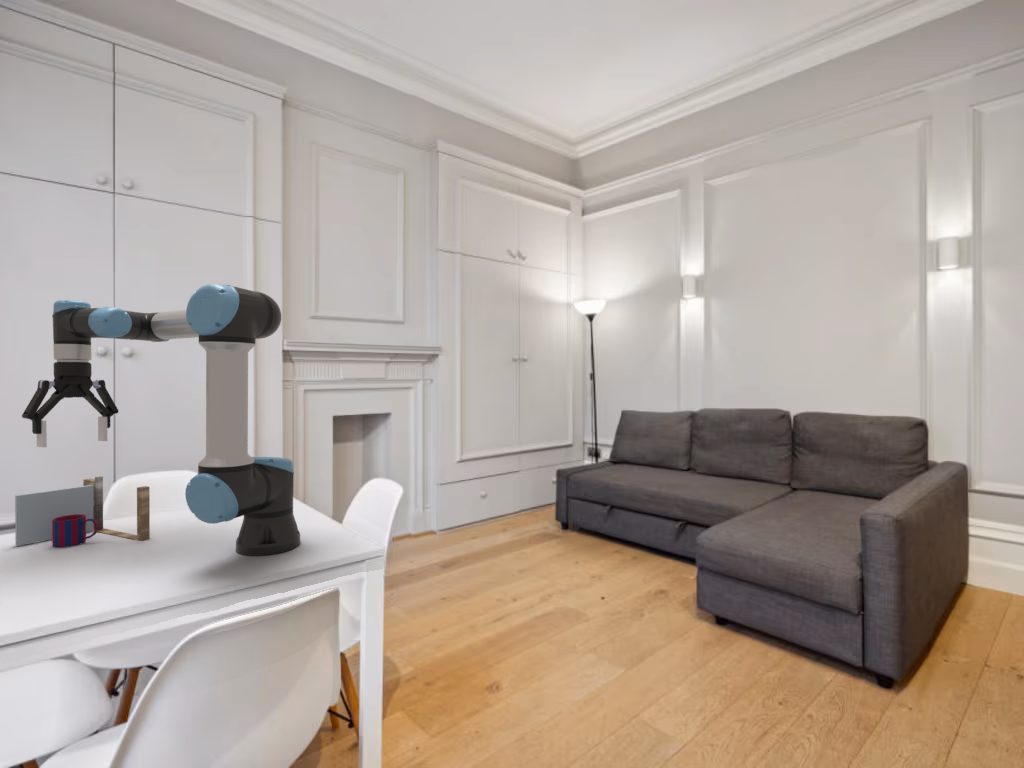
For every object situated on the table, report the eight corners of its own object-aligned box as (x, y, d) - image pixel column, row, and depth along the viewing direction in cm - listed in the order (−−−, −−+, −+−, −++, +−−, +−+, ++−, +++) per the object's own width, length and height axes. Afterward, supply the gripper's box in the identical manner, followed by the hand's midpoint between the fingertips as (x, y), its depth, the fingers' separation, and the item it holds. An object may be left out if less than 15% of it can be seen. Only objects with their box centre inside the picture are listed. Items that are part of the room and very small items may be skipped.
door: (89, 529, 149) (89, 484, 149) (93, 530, 148) (93, 485, 148) (13, 543, 136) (13, 494, 136) (17, 545, 135) (16, 496, 135)
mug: (67, 539, 141) (66, 514, 141) (105, 539, 141) (104, 514, 141) (45, 547, 135) (45, 520, 134) (85, 547, 135) (84, 521, 135)
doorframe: (150, 538, 142) (150, 482, 142) (141, 541, 140) (140, 484, 140) (91, 526, 153) (91, 474, 153) (82, 528, 151) (81, 476, 151)
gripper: (116, 362, 150) (116, 437, 150) (3, 360, 127) (4, 449, 127) (133, 362, 147) (133, 439, 147) (20, 359, 124) (21, 450, 124)
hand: (73, 443), depth 137 cm, fingers open, 13 cm apart
